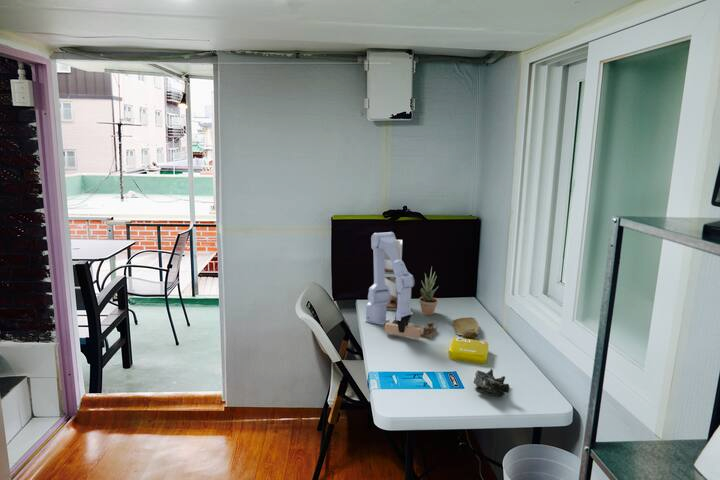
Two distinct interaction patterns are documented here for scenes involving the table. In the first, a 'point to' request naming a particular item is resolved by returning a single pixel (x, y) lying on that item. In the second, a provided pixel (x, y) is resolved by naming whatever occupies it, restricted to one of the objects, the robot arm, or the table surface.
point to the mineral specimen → (490, 383)
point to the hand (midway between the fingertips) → (402, 331)
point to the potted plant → (428, 296)
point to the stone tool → (466, 327)
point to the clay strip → (408, 332)
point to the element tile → (468, 350)
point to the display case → (392, 276)
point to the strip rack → (424, 329)
